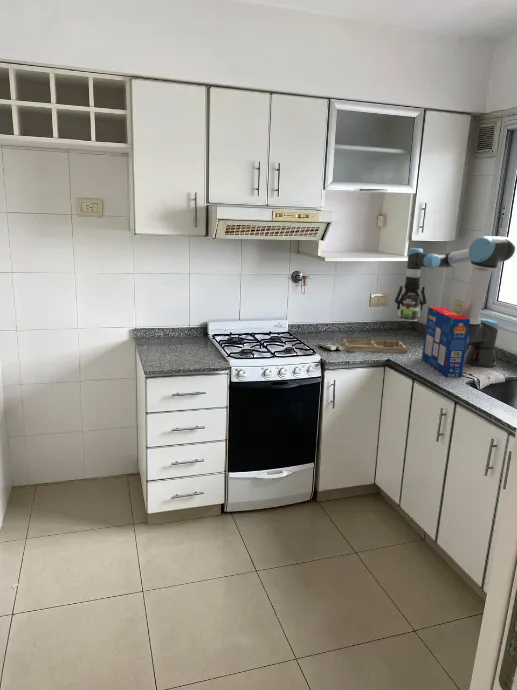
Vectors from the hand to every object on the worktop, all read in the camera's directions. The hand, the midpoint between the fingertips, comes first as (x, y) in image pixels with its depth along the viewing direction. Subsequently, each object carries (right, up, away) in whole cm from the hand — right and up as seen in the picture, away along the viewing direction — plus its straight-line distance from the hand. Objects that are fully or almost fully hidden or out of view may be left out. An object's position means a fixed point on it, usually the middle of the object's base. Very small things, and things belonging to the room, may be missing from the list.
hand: (408, 315), depth 293 cm
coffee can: (0, -2, +1) cm, 2 cm away
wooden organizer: (-22, -19, -9) cm, 30 cm away
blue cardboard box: (+5, -28, -38) cm, 47 cm away
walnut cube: (-14, -19, -9) cm, 25 cm away
